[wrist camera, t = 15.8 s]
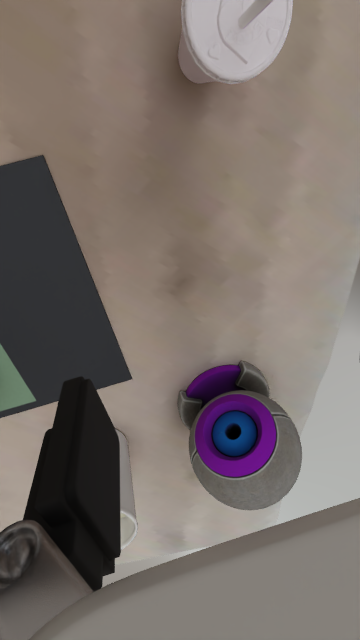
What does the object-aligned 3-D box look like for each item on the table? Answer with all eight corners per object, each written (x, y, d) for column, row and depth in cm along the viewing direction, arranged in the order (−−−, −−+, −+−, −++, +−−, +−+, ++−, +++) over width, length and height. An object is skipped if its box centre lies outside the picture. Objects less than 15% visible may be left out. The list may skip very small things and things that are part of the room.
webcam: (249, 345, 41) (311, 436, 28) (276, 405, 47) (336, 502, 34) (162, 389, 42) (182, 496, 29) (199, 442, 48) (230, 550, 35)
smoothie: (172, 111, 27) (218, 80, 15) (151, 14, 24) (187, -124, 12) (242, 91, 27) (341, 44, 15) (230, -8, 24) (345, -166, 12)
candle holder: (47, 453, 44) (26, 548, 33) (91, 410, 41) (82, 497, 31) (104, 476, 48) (101, 567, 38) (146, 438, 46) (155, 523, 35)
